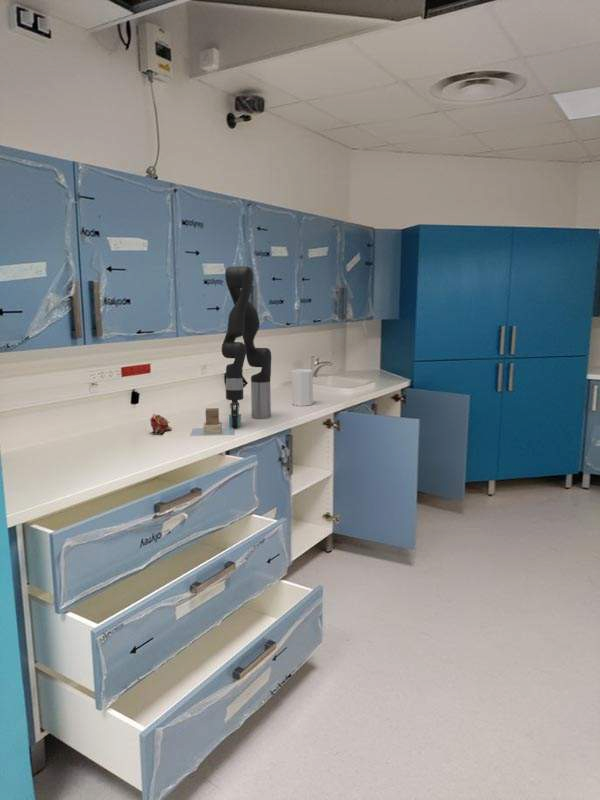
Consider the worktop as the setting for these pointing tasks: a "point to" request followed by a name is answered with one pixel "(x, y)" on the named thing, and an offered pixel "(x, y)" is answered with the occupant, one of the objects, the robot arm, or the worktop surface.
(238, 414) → the block teal
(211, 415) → the block walnut
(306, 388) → the cup
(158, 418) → the flower
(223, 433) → the board
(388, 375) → the worktop surface
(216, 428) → the base block
